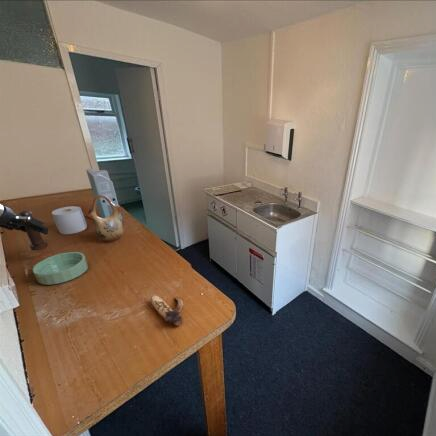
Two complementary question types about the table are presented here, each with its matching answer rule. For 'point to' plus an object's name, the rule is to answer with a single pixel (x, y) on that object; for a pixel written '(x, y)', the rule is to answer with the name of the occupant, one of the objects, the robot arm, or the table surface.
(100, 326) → the table surface
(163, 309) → the bone fish hook
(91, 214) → the ceramic vessel
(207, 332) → the table surface
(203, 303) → the table surface
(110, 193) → the device
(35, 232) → the pestle
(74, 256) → the bowl
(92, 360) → the table surface
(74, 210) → the toilet paper roll
